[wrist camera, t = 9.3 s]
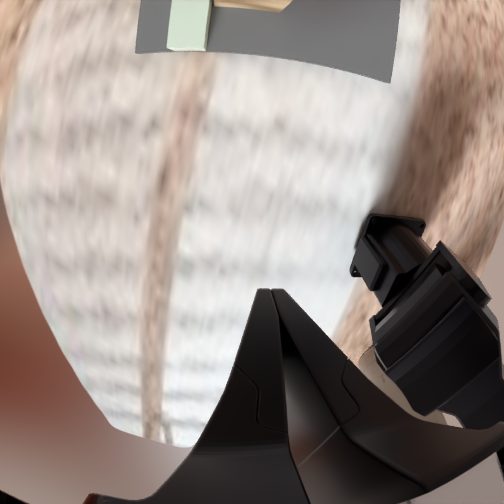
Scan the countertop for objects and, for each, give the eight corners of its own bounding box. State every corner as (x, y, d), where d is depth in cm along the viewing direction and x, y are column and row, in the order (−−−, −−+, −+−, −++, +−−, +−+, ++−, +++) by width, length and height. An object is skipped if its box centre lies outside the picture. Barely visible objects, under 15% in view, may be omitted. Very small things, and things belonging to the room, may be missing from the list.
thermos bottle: (364, 376, 39) (413, 537, 17) (352, 355, 35) (410, 549, 12) (410, 352, 38) (471, 510, 15) (405, 327, 33) (482, 515, 11)
